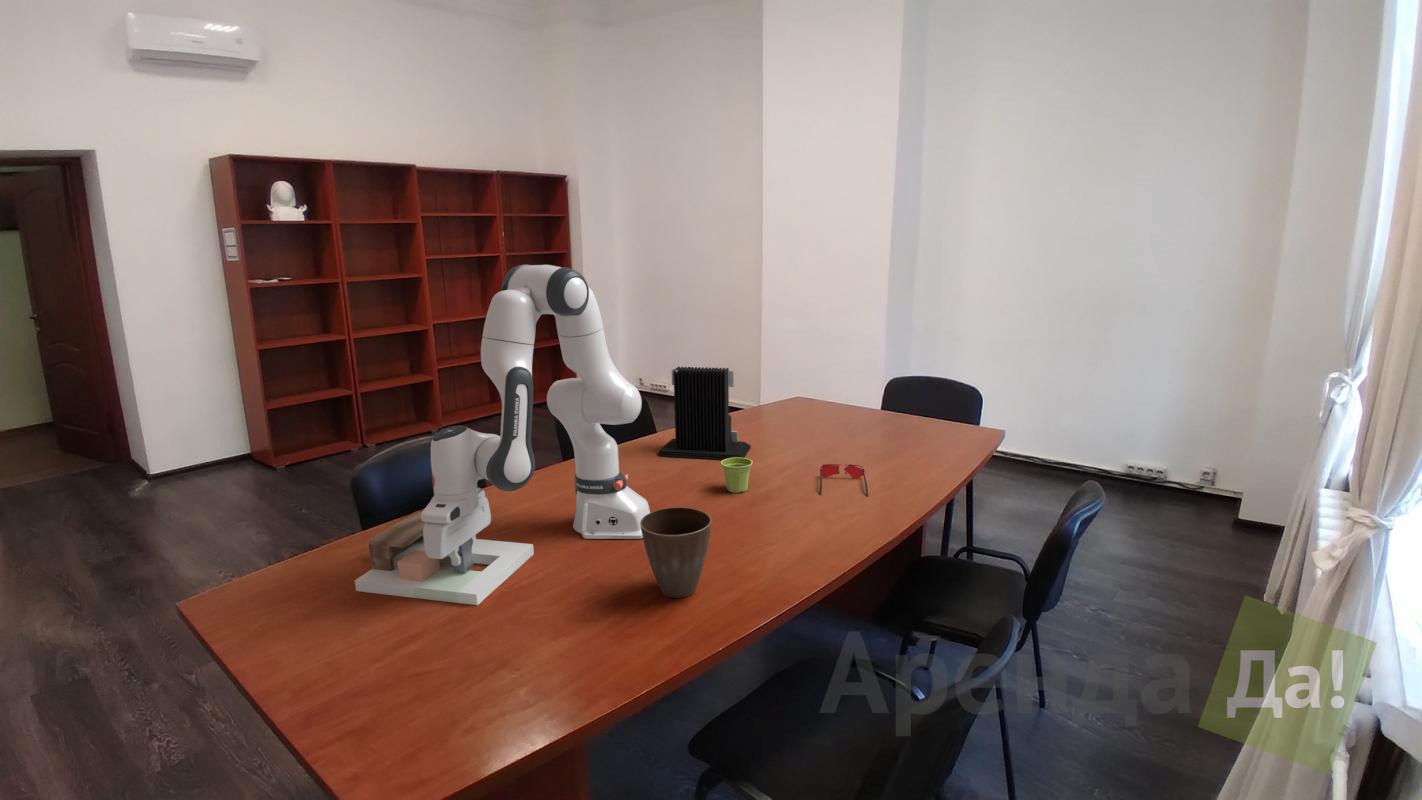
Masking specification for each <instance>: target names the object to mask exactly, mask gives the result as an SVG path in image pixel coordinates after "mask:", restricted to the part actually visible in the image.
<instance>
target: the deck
mask: <svg viewBox="0 0 1422 800" xmlns="http://www.w3.org/2000/svg"><path fill="white" fill-rule="evenodd" d="M473 549H474V554H473V555H472V560H473V564H478V565H485V566H486V565H487V567H485V568H484V569H483V570H481V571H477V570H471V569H469V570H468V571H466V572H457V571H453V568H446V567H440V570H439V571H437V572H436V573H434V574H433V575H432V576H430V577H429V578H427V579H426V580H424V581H423V582H421V581H414V580H407V579H400V578H399V573H398V569H397V561H398V560H400V559H401V558H403V557H405V556H406V555H408V554H409V553H411V552H413V551H414V550H420V551H425V547H424V540H422V539H421V540H420V541H418V542H417V543H415V544H414V545H412V546H411V547H409V548H408V549H406V550H405V551H403V552H402V553H400V554H399V555H397V556H396V557H394V558H393V563H394V570H392V571H385V570H376V569H372V568H371V569H369V570H368V571H367V572H366V573H364V574H362V575H360V576H359V577H358V578H356V579H355V580H354V584H355V586H354V587H355V591H356V592H363V593H369V594H378V595H386V596H387V595H388V596H394V597H395V596H396V597H404V598H413V599H422V600H431V601H437V602H438V601H439V602H444V603H445V602H447V603H455V604H464V605H471V606H472V605H473V606H478V605H480V603H482V602H484V600H485V599H486V598H487V597H488V596H490V595H491V594H492V593H493V592H494V591H495V590H496V589H497V588H498V587H499V586H500V585H501V584H503V583H504V582H505V581H506V580H507V579H508V578H510V576H511V575H512V574H514V573H515V572H516V571H517V570H519V568H521V566H522V565H523V564H525V562H527V561H528V560H529V559H530V558H531V557H532V556H534V554H535V553H534V552H535V550H534V544H533V543H522V542H513V541H502V540H501V541H500V540H490V539H481V538H476V540H475V544H474V547H473Z"/></svg>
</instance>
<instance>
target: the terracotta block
mask: <svg viewBox="0 0 1422 800" xmlns="http://www.w3.org/2000/svg"><path fill="white" fill-rule="evenodd" d="M397 564H398V572H399V578H400V579H407V580H414V581H421V582H423V581H424V580H426V579H427V578H429V577H430V576H432V575H433V574H434V573H436V572H437V571H439V570H440V561H439V559H435V558H429V557H428V556H427V555H426V552H425V551H420V550H415V551H413V552H412V553H410V554H408V555H407V556H405V557H404V558H402V559H400V560H399V561H397Z"/></svg>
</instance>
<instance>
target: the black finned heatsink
mask: <svg viewBox="0 0 1422 800" xmlns="http://www.w3.org/2000/svg"><path fill="white" fill-rule="evenodd" d="M734 374H735V373H734V370H730V369H729V367H727V368H725V367H723V368H722V367H720V368H719V367H703V366H702V367H701V366H700V367H697V366H695V367H694V366H688V367H687V366H681V367H680V366H677V367H676V368H671V386H673V397H674V398H673V399H674V434H675V438H672V439H670V440H669V441H668V442H667V443H666V444H665V445H664V446H663V447H661V449H659V450H658V451H657V456H658V457H662V458H674V459H675V458H676V459H691V460H692V459H695V460H710V461H711V460H712V461H713V460H714V461H722V460H724V459H728V458H735V457H738V458H739V457H740V458H746V456H747V455H748V453H749V451H750V450H751V448H752V446H751V444H748V443H747V442H746V441H741V440H740V441H739V437H738V430H732V416H731V414H730V413H729V403H730V400H729V398H730V396H729V388H734V387H735V386H734V385H735V384H734V383H735V382H734V381H735V379H734V377H735V375H734Z"/></svg>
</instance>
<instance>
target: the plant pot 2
mask: <svg viewBox="0 0 1422 800" xmlns="http://www.w3.org/2000/svg"><path fill="white" fill-rule="evenodd" d="M720 465H722V469H723V472H724V473H723V474H724V478H725V479H724V480H725V485H726V490H727V491H728V492H729V493H733V494H739V493H741V492H743V493H745V492H746V491H747V490H748V488H749V487H748V486H749V479H750V471H751V468H752V465H753V460H751V459H749V458H747V457H745V458H740V457H739V458H738V457H735V458H728V459H724V460H720Z"/></svg>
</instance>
